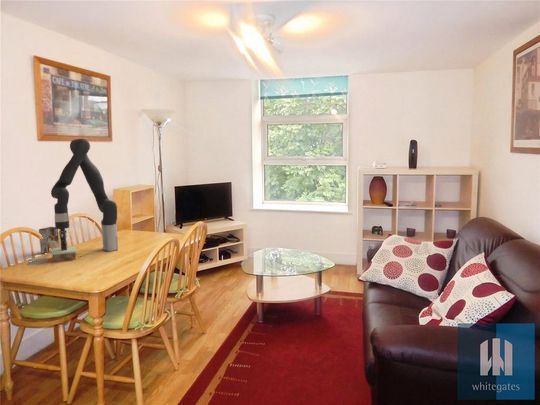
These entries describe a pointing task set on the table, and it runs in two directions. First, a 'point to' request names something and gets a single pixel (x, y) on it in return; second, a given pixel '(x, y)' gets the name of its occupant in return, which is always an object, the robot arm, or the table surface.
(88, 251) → the table surface
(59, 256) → the box
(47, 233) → the coffee box
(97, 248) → the table surface
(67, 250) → the lid
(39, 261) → the mat
